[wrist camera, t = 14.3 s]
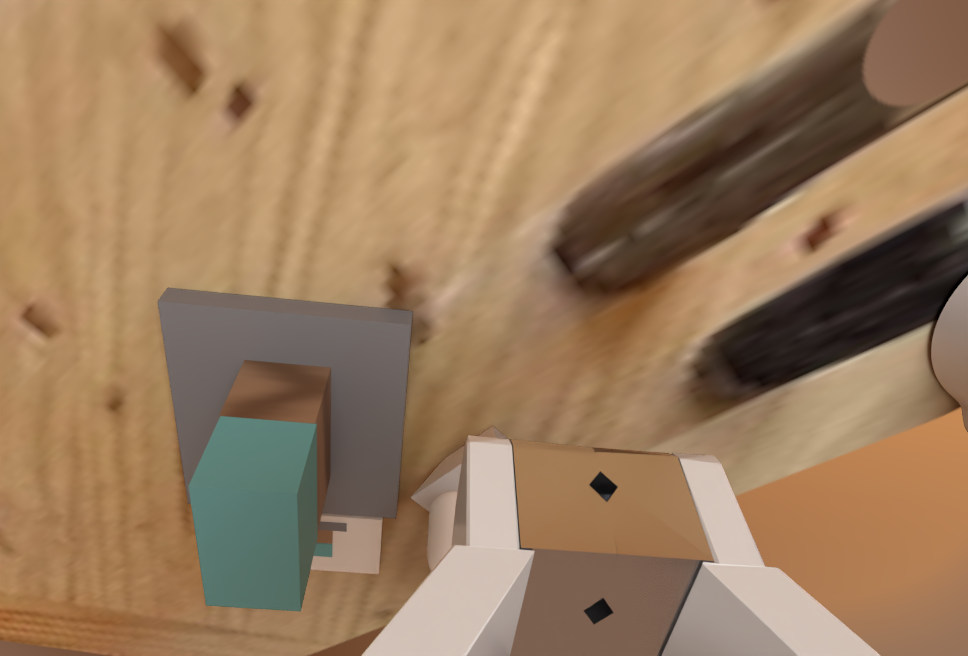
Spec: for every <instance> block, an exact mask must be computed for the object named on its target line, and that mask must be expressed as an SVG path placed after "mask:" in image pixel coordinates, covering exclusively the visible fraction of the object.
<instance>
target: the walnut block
mask: <svg viewBox="0 0 968 656" xmlns="http://www.w3.org/2000/svg"><path fill="white" fill-rule="evenodd" d="M220 416H226V417H238V418H250V419H262V420H275V421H287V422H299V423H311V424H317V526H318V528H319V524H320V520H321V515H322V511H323V507H324V502H325V498H326V494H327V490H328V485H329V481H330V456H331V367H320V366H308V365H297V364H286V363H275V362H263V361H252V360H244V362H243V364H242V367H241V369H240V371H239V373H238V375H237V377H236V380H235V382H234V384H233V386H232V388H231V390H230V393H229V395H228V397H227V399H226V401H225V403H224V406H223V408H222V410H221V412H220V414H219V418H220Z"/></svg>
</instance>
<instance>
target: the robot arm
mask: <svg viewBox="0 0 968 656" xmlns="http://www.w3.org/2000/svg"><path fill="white" fill-rule="evenodd" d="M931 359H932V365H933V369H934V372H935V375H936V377H937V379H938V381H939V382H940V384H941V385H942V386H943V388H944V389H945V390H946V391H947V392H948V393H949V394H950V395H951V396H952V397H953V398H954V399H955V400H956V401H957V402H958V403H959V404H960V406H961V408H962V415H963V421H964V425H965V428H966V430H967V432H968V275H967V277H966V278H965V279H964V280H963V281H962V282H961V284H960V285H959V286H958V287H957V289H956V290H955V291H954V293H953V294H952V296H951V297H950V298H949V300H948V302H947V303H946V305H945V307H944V309H943V311H942V313H941V314H940V317H939V319H938V321H937V324H936V327H935V330H934V334H933V339H932V346H931ZM361 656H881V655H879V654H878V653H877V652H876V651H875V650H874V649H872V648H871V647H870V646H869V645H868V644H867V643H865V642H864V641H863V640H862V639H861V638H860V637H858V636H857V635H856V634H855V633H854V632H852V631H851V630H850V629H849V628H848V627H847V626H846V625H844V624H843V623H842V622H841V621H840V620H839V619H837V618H836V617H835V616H834V615H833V614H832V613H830V612H829V611H828V610H827V609H826V608H825V607H823V606H822V605H821V604H820V603H819V602H818V601H816V600H815V599H814V598H813V597H812V596H811V595H809V594H808V593H807V592H806V591H805V590H804V589H802V588H801V587H800V586H799V585H798V584H796V583H795V582H794V581H793V580H792V579H791V578H790V577H788V576H787V575H786V574H785V573H784V572H783V571H781V570H780V569H779V568H773V567H765V565H764V562H763V560H762V558H761V556H760V553H759V551H758V549H757V546H756V544H755V541H754V539H753V537H752V535H751V532H750V530H749V528H748V525H747V523H746V521H745V519H744V516H743V514H742V512H741V509H740V507H739V505H738V502H737V500H736V497H735V495H734V493H733V490H732V488H731V486H730V483H729V481H728V479H727V477H726V474H725V472H724V470H723V467H722V465H721V463H720V461H719V460H718V459H717V458H716V457H714V456H713V455H698V454H683V453H672V454H669V453H659V452H646V451H632V450H619V449H606V448H592V447H582V446H572V445H563V444H554V443H544V442H535V441H525V440H516V439H510V441H509V440H508V439H499V438H489V437H480V436H471V435H468V436H467V438H466V441H465V445H464V452H463V459H462V465H461V472H460V479H459V485H458V492H457V499H456V507H455V517H454V526H453V536H452V547H451V548H450V549H449V550H448V552H447V553H446V554H445V555H444V556H443V558H442V559H441V560H440V561H439V563H438V564H437V565H436V566H435V567H434V569H433V570H432V571H431V572H430V573H429V575H428V576H427V577H426V578H425V579H424V581H423V582H422V583H421V584H420V585H419V587H418V588H417V589H416V590H415V591H414V593H413V594H412V595H411V596H410V597H409V599H408V600H407V601H406V602H405V603H404V605H403V606H402V607H401V608H400V609H399V611H398V612H397V613H396V614H395V615H394V617H393V618H392V619H391V620H390V621H389V623H388V624H387V625H386V626H385V627H384V629H383V630H382V631H381V632H380V634H379V635H378V636H377V637H376V638H375V640H374V641H373V642H372V643H371V644H370V646H369V647H368V648H367V649H366V650H365V652H364V653H363V654H362V655H361Z"/></svg>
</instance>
